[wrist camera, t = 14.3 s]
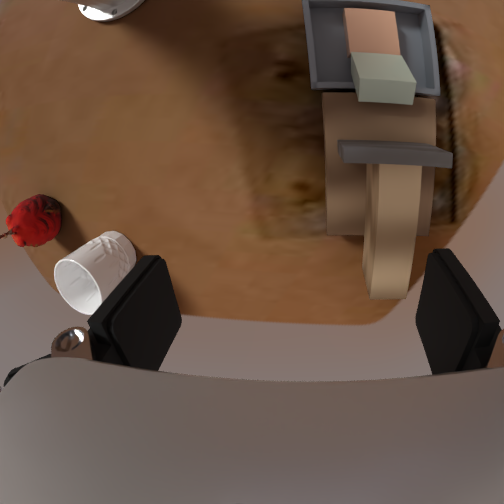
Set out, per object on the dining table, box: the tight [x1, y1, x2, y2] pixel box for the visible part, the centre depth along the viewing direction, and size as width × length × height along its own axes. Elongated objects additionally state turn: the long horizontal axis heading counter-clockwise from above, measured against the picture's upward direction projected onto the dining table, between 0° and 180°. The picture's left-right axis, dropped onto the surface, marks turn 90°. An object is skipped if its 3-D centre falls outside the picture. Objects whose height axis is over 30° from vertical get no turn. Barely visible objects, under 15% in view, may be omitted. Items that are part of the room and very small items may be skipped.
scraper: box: [337, 140, 453, 299], centre depth 26 cm, size 13×9×6 cm
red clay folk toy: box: [0, 194, 62, 247], centre depth 35 cm, size 8×7×15 cm
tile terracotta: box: [342, 8, 400, 58], centre depth 23 cm, size 5×5×2 cm
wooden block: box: [321, 92, 436, 236], centre depth 28 cm, size 14×11×4 cm
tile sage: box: [351, 52, 417, 105], centre depth 23 cm, size 5×5×2 cm
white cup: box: [54, 231, 136, 315], centre depth 37 cm, size 8×8×10 cm
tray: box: [302, 0, 440, 96], centre depth 24 cm, size 10×13×3 cm
